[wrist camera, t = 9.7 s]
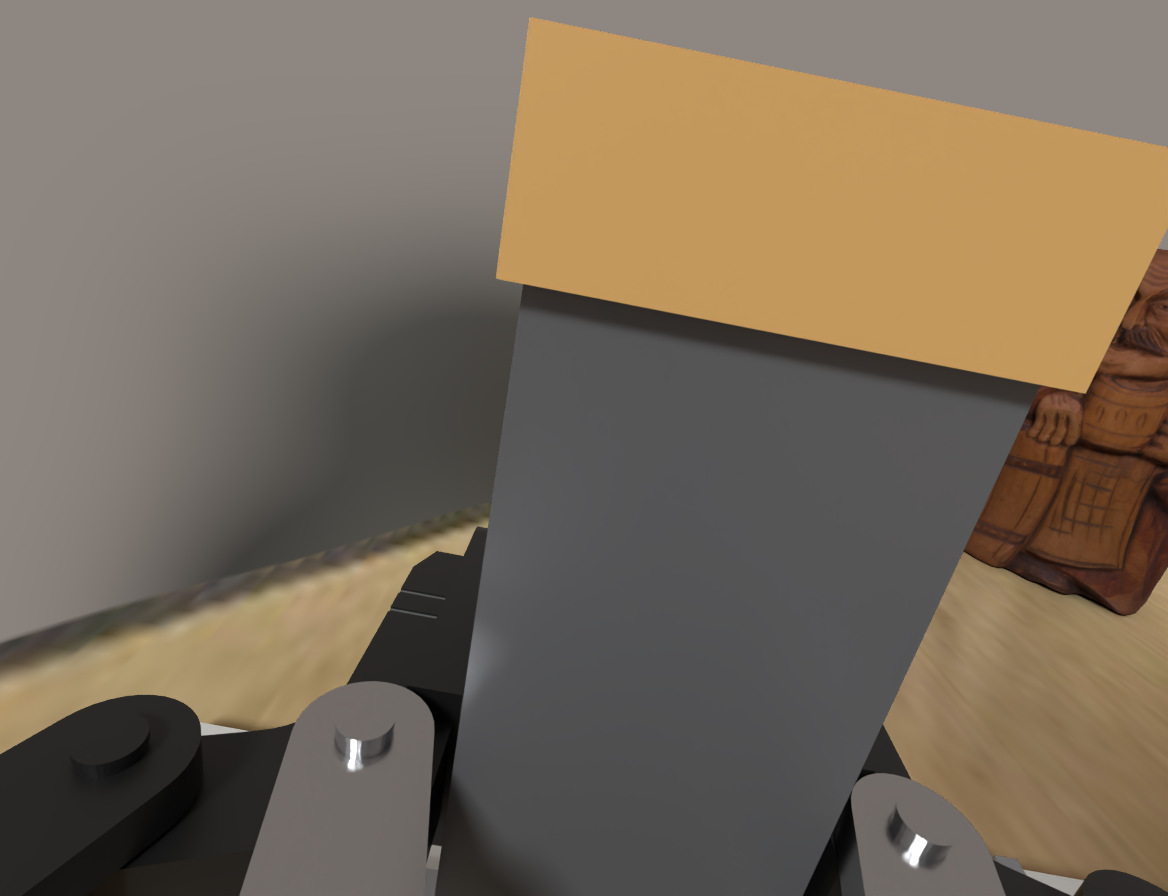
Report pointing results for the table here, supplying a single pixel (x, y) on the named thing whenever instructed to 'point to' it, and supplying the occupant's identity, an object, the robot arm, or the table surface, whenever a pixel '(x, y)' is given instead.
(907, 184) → the fader
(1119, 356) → the wooden figurine
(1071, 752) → the table surface
